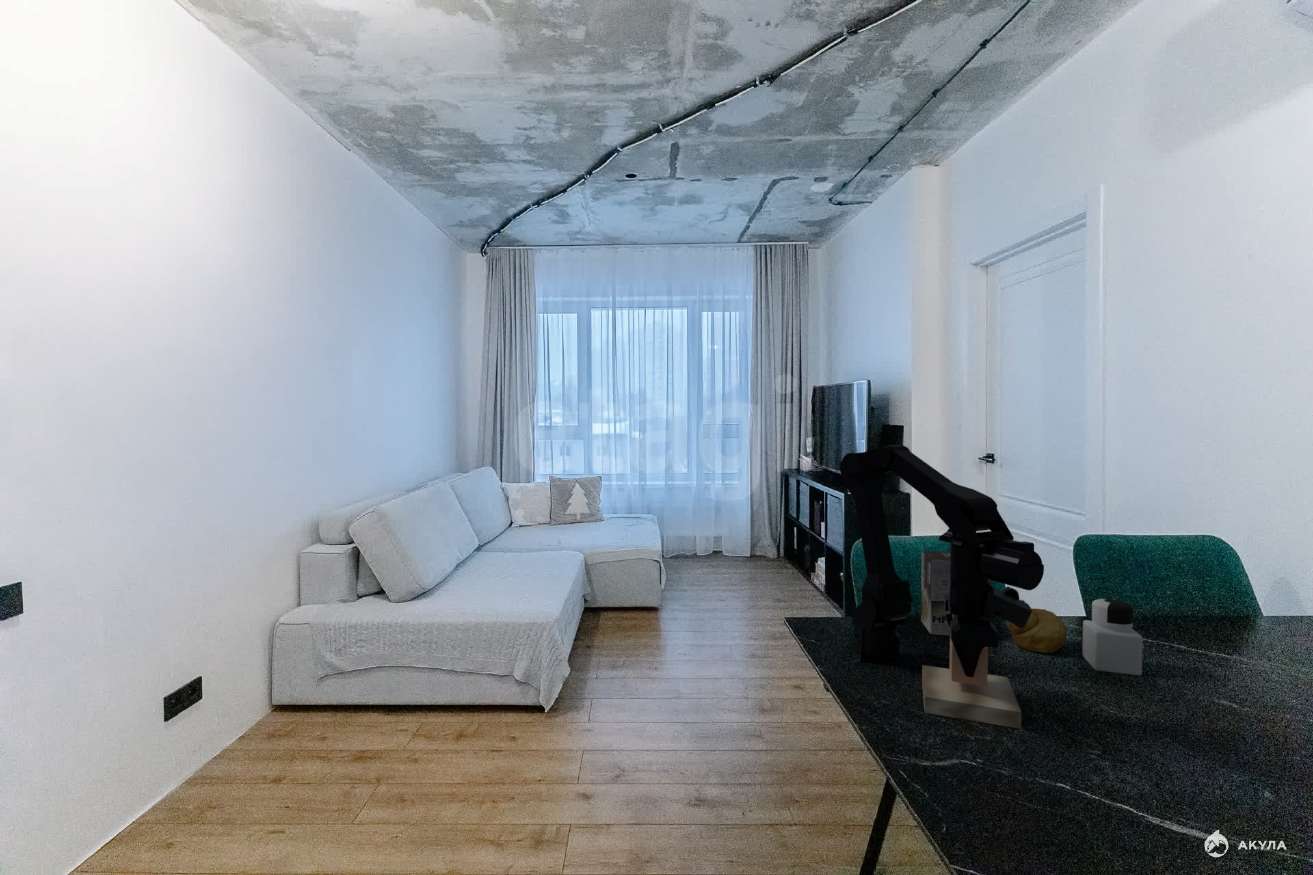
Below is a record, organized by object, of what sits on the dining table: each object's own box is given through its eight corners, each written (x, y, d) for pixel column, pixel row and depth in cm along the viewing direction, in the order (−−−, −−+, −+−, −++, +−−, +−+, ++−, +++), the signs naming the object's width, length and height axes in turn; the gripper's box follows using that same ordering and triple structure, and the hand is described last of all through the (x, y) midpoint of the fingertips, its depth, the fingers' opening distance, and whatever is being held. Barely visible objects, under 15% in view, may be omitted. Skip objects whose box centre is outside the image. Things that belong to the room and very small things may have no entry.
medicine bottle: (1126, 661, 114) (1127, 597, 114) (1142, 676, 108) (1144, 609, 107) (1081, 656, 117) (1083, 594, 116) (1094, 670, 110) (1096, 605, 110)
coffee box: (962, 637, 127) (964, 560, 126) (929, 634, 128) (930, 558, 128) (950, 622, 136) (952, 550, 135) (920, 620, 137) (921, 549, 137)
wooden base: (924, 712, 94) (924, 696, 94) (922, 679, 106) (922, 665, 106) (1021, 728, 89) (1021, 711, 89) (1006, 691, 101) (1007, 677, 101)
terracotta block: (951, 681, 96) (952, 643, 96) (949, 668, 101) (950, 633, 101) (987, 686, 95) (988, 648, 94) (983, 673, 99) (984, 637, 99)
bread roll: (1025, 631, 130) (1025, 594, 130) (1078, 644, 123) (1079, 605, 123) (1000, 646, 122) (1001, 606, 122) (1056, 661, 115) (1057, 619, 114)
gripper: (1040, 595, 86) (1037, 704, 86) (1017, 565, 103) (1015, 656, 103) (952, 586, 90) (950, 690, 90) (944, 559, 107) (942, 646, 108)
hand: (967, 669), depth 98 cm, fingers closed on terracotta block, 5 cm apart
